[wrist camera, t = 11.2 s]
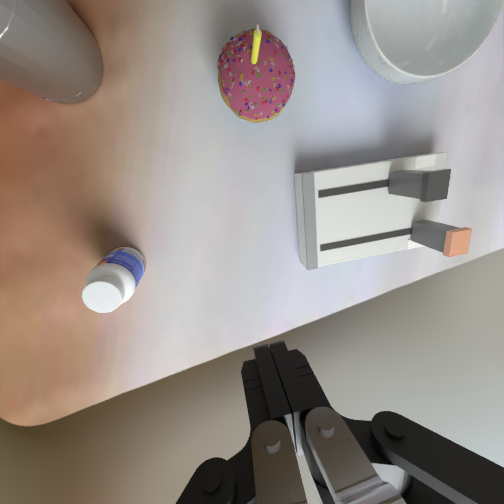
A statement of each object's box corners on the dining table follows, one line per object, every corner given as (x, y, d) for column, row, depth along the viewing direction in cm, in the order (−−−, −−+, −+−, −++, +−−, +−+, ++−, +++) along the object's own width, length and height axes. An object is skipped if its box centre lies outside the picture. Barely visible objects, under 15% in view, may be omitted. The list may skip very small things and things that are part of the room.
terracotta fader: (411, 221, 38) (452, 232, 32) (427, 218, 39) (471, 228, 32) (409, 242, 40) (449, 257, 33) (425, 238, 40) (467, 253, 34)
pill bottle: (116, 239, 35) (85, 265, 26) (153, 256, 37) (136, 287, 28) (100, 270, 36) (65, 306, 27) (136, 286, 38) (115, 325, 29)
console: (294, 173, 36) (302, 174, 33) (429, 153, 39) (449, 152, 36) (300, 261, 41) (308, 270, 38) (420, 238, 44) (437, 244, 41)
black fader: (388, 171, 35) (429, 172, 29) (406, 168, 35) (450, 169, 29) (387, 195, 36) (425, 202, 30) (404, 192, 37) (446, 198, 30)
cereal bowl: (428, -109, 28) (495, -191, 22) (468, 41, 34) (530, 13, 28) (308, -8, 30) (337, -57, 23) (367, 121, 36) (403, 111, 29)
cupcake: (201, 85, 31) (199, 41, 20) (250, 30, 30) (278, -50, 19) (249, 141, 34) (271, 130, 23) (295, 93, 33) (341, 56, 22)
